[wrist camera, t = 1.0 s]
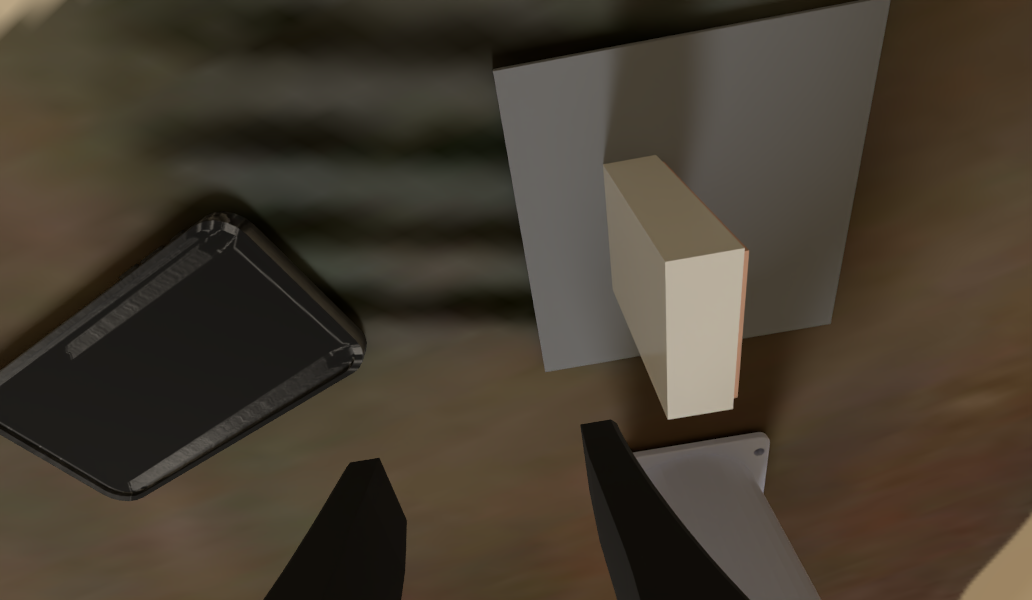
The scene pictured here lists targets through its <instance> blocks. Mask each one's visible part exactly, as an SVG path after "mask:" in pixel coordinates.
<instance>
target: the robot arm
mask: <svg viewBox="0 0 1032 600" xmlns="http://www.w3.org/2000/svg"><path fill="white" fill-rule="evenodd" d="M581 432H582V440H583V447H584V454H585V461H586V469H587V476H588V483H589V490H590V495H591V500H592V505H593V510H594V515H595V520H596V525H597V530H598V535H599V540H600V543H601V547H602V550H603V553H604V557H605V560H606V563H607V567H608V570H609V573H610V577H611V580H612V583H613V587H614V590H615V593H616V597H617V600H821V598H820V597H819V595H818V593H817V591H816V589H815V587H814V586H813V584H812V582H811V580H810V578H809V576H808V575H807V573H806V571H805V569H804V567H803V565H802V564H801V562H800V560H799V558H798V556H797V554H796V553H795V551H794V549H793V547H792V545H791V543H790V542H789V540H788V538H787V536H786V534H785V532H784V531H783V529H782V527H781V525H780V523H779V521H778V520H777V518H776V516H775V514H774V512H773V510H772V509H771V507H770V505H769V503H768V501H767V499H766V498H765V496H764V494H763V493H764V485H765V477H766V470H767V462H768V454H769V447H770V440H769V438H768V436H767V435H766V434H765V433H763V432H755V433H749V434H743V435H737V436H731V437H724V438H718V439H712V440H706V441H700V442H694V443H688V444H682V445H675V446H669V447H663V448H657V449H651V450H645V451H639V452H633V453H632V451H631V449H630V448H629V446H628V444H627V442H626V441H625V439H624V437H623V435H622V433H621V432H620V430H619V427H618V425H617V423H616V422H614V421H612V420H605V421H599V422H593V423H587V424H581ZM406 527H407V520H406V517H405V515H404V513H403V511H402V508H401V506H400V504H399V502H398V499H397V497H396V495H395V492H394V490H393V488H392V486H391V483H390V481H389V479H388V477H387V474H386V472H385V470H384V467H383V465H382V463H381V461H380V458H375V459H369V460H363V461H357V462H351V463H350V464H349V465H348V466H347V467H346V469H345V471H344V472H343V474H342V476H341V477H340V479H339V481H338V483H337V484H336V486H335V488H334V489H333V491H332V493H331V494H330V496H329V498H328V499H327V501H326V503H325V505H324V506H323V508H322V510H321V511H320V513H319V515H318V516H317V518H316V519H315V521H314V523H313V524H312V526H311V528H310V529H309V531H308V533H307V534H306V536H305V537H304V539H303V540H302V542H301V544H300V545H299V547H298V548H297V550H296V552H295V553H294V555H293V556H292V558H291V559H290V561H289V563H288V564H287V566H286V567H285V569H284V570H283V572H282V573H281V575H280V576H279V578H278V579H277V581H276V582H275V584H274V585H273V587H272V588H271V589H270V591H269V592H268V594H267V595H266V597H265V598H264V600H401V596H402V589H403V582H404V575H405V559H406Z"/></svg>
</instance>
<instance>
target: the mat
mask: <svg viewBox="0 0 1032 600" xmlns="http://www.w3.org/2000/svg"><path fill="white" fill-rule="evenodd" d="M890 1H891V0H858V1H853V2H848V3H842V4H837V5H832V6H826V7H821V8H816V9H810V10H805V11H800V12H795V13H789V14H784V15H779V16H773V17H768V18H763V19H757V20H752V21H747V22H741V23H736V24H731V25H725V26H720V27H715V28H709V29H704V30H699V31H693V32H688V33H683V34H677V35H672V36H667V37H661V38H656V39H651V40H645V41H640V42H635V43H629V44H624V45H619V46H613V47H608V48H603V49H598V50H592V51H587V52H582V53H576V54H571V55H566V56H560V57H555V58H550V59H544V60H539V61H534V62H528V63H523V64H518V65H512V66H507V67H502V68H496V69H493V74H494V80H495V85H496V91H497V97H498V103H499V108H500V114H501V120H502V126H503V131H504V137H505V143H506V149H507V154H508V160H509V166H510V171H511V177H512V183H513V189H514V194H515V200H516V206H517V212H518V217H519V223H520V229H521V235H522V240H523V246H524V252H525V258H526V263H527V269H528V275H529V281H530V286H531V292H532V298H533V303H534V309H535V315H536V321H537V326H538V332H539V338H540V344H541V349H542V355H543V361H544V367H545V372H548V371H554V370H560V369H566V368H572V367H578V366H584V365H590V364H596V363H601V362H607V361H613V360H619V359H625V358H631V357H637V356H641V355H640V353H639V351H638V348H637V346H636V344H635V341H634V339H633V336H632V334H631V332H630V329H629V327H628V325H627V322H626V320H625V318H624V315H623V313H622V310H621V308H620V306H619V303H618V301H617V299H616V296H615V294H614V292H613V287H612V274H611V262H610V249H609V236H608V223H607V211H606V198H605V185H604V172H603V164H608V163H614V162H619V161H625V160H630V159H636V158H641V157H647V156H652V155H657V156H658V157H659V158H660V160H661V161H662V162H663V161H664V162H665V163H666V164H667V165H668V166H669V167H670V168H671V169H672V170H673V171H674V173H675V174H676V175H677V176H678V177H679V178H680V179H681V180H682V181H683V182H684V183H685V184H686V185H687V186H688V187H689V188H690V189H691V190H692V191H693V192H694V193H695V194H696V195H697V196H698V198H699V199H700V200H701V201H702V202H703V203H704V204H705V205H706V206H707V207H708V208H709V209H710V210H711V211H712V212H713V213H714V214H715V215H716V216H717V217H718V218H719V219H720V220H721V221H722V223H723V224H724V225H725V226H726V227H727V228H728V229H729V230H730V231H731V232H732V233H733V234H734V235H735V236H736V237H737V238H738V239H739V240H740V241H741V242H742V243H743V244H744V245H745V247H746V248H747V249H748V250H749V259H748V272H747V285H746V298H745V310H744V323H743V336H742V339H744V338H750V337H755V336H761V335H767V334H773V333H779V332H785V331H791V330H797V329H803V328H809V327H815V326H821V325H827V324H831V319H832V314H833V308H834V303H835V297H836V292H837V287H838V281H839V276H840V270H841V265H842V260H843V254H844V249H845V244H846V238H847V233H848V227H849V222H850V217H851V211H852V206H853V200H854V195H855V190H856V184H857V179H858V173H859V168H860V163H861V157H862V152H863V147H864V141H865V136H866V130H867V125H868V120H869V114H870V109H871V103H872V98H873V93H874V87H875V82H876V76H877V71H878V66H879V60H880V55H881V50H882V44H883V39H884V33H885V28H886V23H887V17H888V12H889V6H890Z"/></svg>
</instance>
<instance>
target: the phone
mask: <svg viewBox="0 0 1032 600" xmlns="http://www.w3.org/2000/svg"><path fill="white" fill-rule="evenodd" d="M170 241H171V242H170V243H169V244H168V245H166V246H165V247H164V248H162V247H161V246H160V247H159V248H158V249H156V250H155V251H154V252H152V253H151V254H150V255H148V256H147V257H146V258H144V259H143V260H142V261H141V263H142V264H141V265H140V266H139V265H138V264H135V265H134V266H133V267H131V268H130V269H129V270H128V271H126V272H125V273H124V274H122V275H121V276H120V277H119V278H120V279H121V280H120V281H118V282H117V283H116V284H114V285H113V286H112V287H110V288H109V289H108V290H106V291H105V292H104V293H102V294H101V295H100V296H98V297H97V298H96V299H94V300H93V301H92V302H90V303H89V304H88V305H86V306H85V307H84V308H82V309H81V310H80V311H78V312H77V313H76V314H74V315H73V316H72V317H70V318H69V319H68V320H66V321H65V322H64V323H62V324H61V325H60V326H58V327H57V328H56V329H54V330H53V331H52V332H50V333H49V334H48V335H46V336H45V337H44V338H42V339H41V340H40V341H38V342H37V343H36V344H34V345H33V346H32V347H31V348H29V349H28V350H27V351H25V352H24V353H23V354H21V355H20V356H19V357H17V358H16V359H15V360H13V361H12V362H11V363H9V364H8V365H7V366H5V367H4V368H3V369H1V370H0V435H2V436H3V437H5V438H7V439H9V440H10V441H12V442H14V443H15V444H17V445H19V446H21V447H22V448H24V449H26V450H28V451H29V452H31V453H33V454H34V455H36V456H38V457H40V458H41V459H43V460H45V461H47V462H48V463H50V464H52V465H53V466H55V467H57V468H59V469H60V470H62V471H64V472H65V473H67V474H69V475H71V476H72V477H74V478H76V479H77V480H79V481H81V482H83V483H84V484H86V485H88V486H90V487H91V488H93V489H95V490H96V491H98V492H100V493H102V494H103V495H106V496H108V497H110V498H113V499H117V500H122V501H133V500H138V499H140V498H143V497H144V496H146V495H148V494H150V493H151V492H153V491H155V490H156V489H158V488H160V487H161V486H163V485H165V484H166V483H168V482H170V481H171V480H173V479H175V478H177V477H178V476H180V475H182V474H183V473H185V472H187V471H188V470H190V469H192V468H193V467H195V466H197V465H198V464H200V463H202V462H204V461H205V460H207V459H209V458H210V457H212V456H214V455H215V454H217V453H219V452H220V451H222V450H224V449H225V448H227V447H229V446H231V445H232V444H234V443H236V442H237V441H239V440H241V439H242V438H244V437H246V436H247V435H249V434H251V433H252V432H254V431H256V430H258V429H259V428H261V427H263V426H264V425H266V424H268V423H269V422H271V421H273V420H274V419H276V418H278V417H279V416H281V415H283V414H285V413H286V412H288V411H290V410H291V409H293V408H295V407H296V406H298V405H300V404H301V403H303V402H305V401H306V400H308V399H310V398H312V397H313V396H315V395H317V394H318V393H320V392H322V391H323V390H325V389H327V388H328V387H330V386H332V385H333V384H335V383H337V382H339V381H340V380H342V379H344V378H345V377H347V376H349V375H350V374H352V373H354V372H355V371H356V370H357V369H358V368H359V367H360V365H361V363H362V362H363V358H364V355H365V352H366V345H367V342H366V338H365V335H364V334H363V333H362V331H361V330H360V328H358V327H357V326H356V325H355V324H354V323H353V322H352V321H351V320H350V319H349V318H348V317H347V316H346V315H345V314H344V313H343V312H342V311H341V310H340V309H339V308H338V307H337V306H336V305H335V304H334V303H333V302H332V301H331V300H330V299H329V298H328V297H327V296H326V295H325V294H324V293H323V292H322V291H321V290H320V289H319V288H318V287H317V286H316V285H315V284H314V283H313V282H312V281H311V280H310V279H309V278H308V277H307V276H306V275H305V274H304V273H303V272H302V271H301V270H300V269H299V268H298V267H297V266H296V265H295V264H294V263H293V262H292V261H291V260H290V259H289V258H287V257H286V256H285V255H284V254H283V253H282V252H281V251H280V250H279V249H278V248H277V247H276V246H275V245H274V244H273V243H272V242H271V241H270V240H269V239H268V238H267V237H266V236H265V235H264V234H263V233H262V232H261V231H260V230H259V229H258V228H257V227H256V226H255V225H254V224H253V223H251V222H250V221H249V220H247V219H246V218H244V217H242V216H240V215H237V214H235V213H230V212H224V211H223V212H214V213H211V214H209V215H207V216H205V217H203V218H202V219H201V220H199V221H198V222H197V223H195V224H194V225H193V226H191V227H190V228H189V229H187V230H186V231H184V230H182V231H181V232H180V233H178V234H177V235H176V236H174V237H173V238H172V239H171V240H170Z"/></svg>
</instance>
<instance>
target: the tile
mask: <svg viewBox="0 0 1032 600" xmlns="http://www.w3.org/2000/svg"><path fill="white" fill-rule="evenodd" d="M603 172H604V185H605V198H606V211H607V223H608V236H609V249H610V262H611V274H612V287H613V292H614V294H615V296H616V299H617V301H618V303H619V306H620V308H621V310H622V313H623V315H624V318H625V320H626V322H627V325H628V327H629V329H630V332H631V334H632V336H633V339H634V341H635V344H636V346H637V348H638V351H639V353H640V355H641V358H642V360H643V362H644V365H645V367H646V370H647V372H648V374H649V377H650V379H651V381H652V384H653V386H654V388H655V391H656V393H657V396H658V398H659V400H660V403H661V405H662V407H663V410H664V412H665V414H666V417H667V419H668V420H669V419H675V418H682V417H688V416H694V415H700V414H706V413H712V412H718V411H724V410H730V409H733V402H734V398H738V387H739V374H740V361H741V348H742V336H743V323H744V310H745V298H746V285H747V272H748V259H749V250H748V249H747V248H746V247H745V245H744V244H743V243H742V242H741V241H740V240H739V239H738V238H737V237H736V236H735V235H734V234H733V233H732V232H731V231H730V230H729V229H728V228H727V227H726V226H725V225H724V224H723V223H722V221H721V220H720V219H719V218H718V217H717V216H716V215H715V214H714V213H713V212H712V211H711V210H710V209H709V208H708V207H707V206H706V205H705V204H704V203H703V202H702V201H701V200H700V199H699V198H698V196H697V195H696V194H695V193H694V192H693V191H692V190H691V189H690V188H689V187H688V186H687V185H686V184H685V183H684V182H683V181H682V180H681V179H680V178H679V177H678V176H677V175H676V174H675V173H674V171H673V170H672V169H671V168H670V167H669V166H668V165H667V164H666V163H665V162H664V161H663V162H662V161H661V160H660V158H659V157H658V156H657V155H652V156H647V157H641V158H636V159H630V160H625V161H619V162H614V163H608V164H603Z"/></svg>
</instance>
